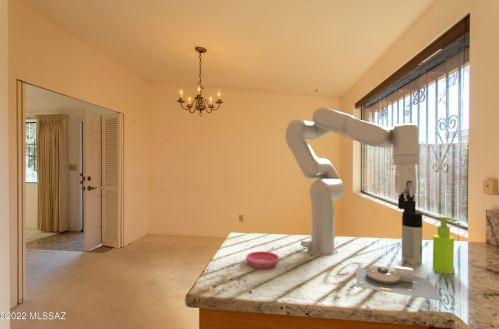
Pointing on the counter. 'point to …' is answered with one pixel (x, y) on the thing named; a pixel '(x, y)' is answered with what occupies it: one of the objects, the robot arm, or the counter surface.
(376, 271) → the dial
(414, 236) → the spray can
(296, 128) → the robot arm
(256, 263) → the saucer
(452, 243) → the soap dispenser
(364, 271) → the board
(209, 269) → the counter surface
